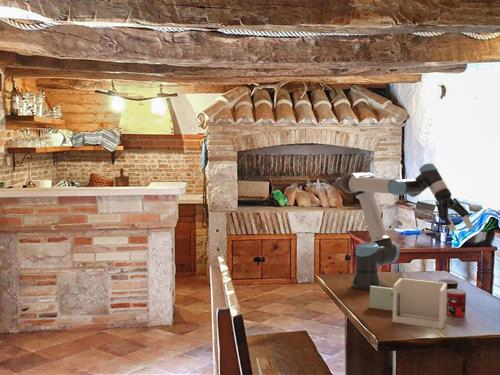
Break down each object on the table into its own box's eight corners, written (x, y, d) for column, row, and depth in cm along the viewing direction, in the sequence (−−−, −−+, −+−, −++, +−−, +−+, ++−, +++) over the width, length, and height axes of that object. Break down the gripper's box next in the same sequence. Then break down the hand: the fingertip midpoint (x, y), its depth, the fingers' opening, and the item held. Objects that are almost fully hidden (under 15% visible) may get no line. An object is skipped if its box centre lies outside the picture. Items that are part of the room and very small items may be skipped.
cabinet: (392, 321, 224) (393, 285, 223) (399, 312, 237) (400, 278, 236) (441, 329, 215) (442, 290, 214) (446, 319, 228) (447, 283, 226)
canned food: (443, 312, 237) (443, 288, 236) (460, 312, 237) (460, 288, 237) (450, 318, 229) (451, 293, 228) (468, 317, 230) (469, 293, 229)
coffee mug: (459, 304, 249) (459, 284, 248) (439, 303, 251) (440, 283, 250) (454, 297, 260) (455, 278, 260) (436, 297, 262) (436, 277, 261)
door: (369, 308, 244) (369, 287, 243) (370, 306, 247) (371, 285, 246) (395, 311, 239) (395, 290, 238) (396, 310, 241) (397, 288, 240)
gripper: (429, 188, 247) (452, 227, 238) (461, 186, 261) (483, 223, 252) (419, 196, 252) (440, 235, 243) (450, 194, 266) (472, 231, 257)
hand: (462, 229), depth 247 cm, fingers open, 13 cm apart
